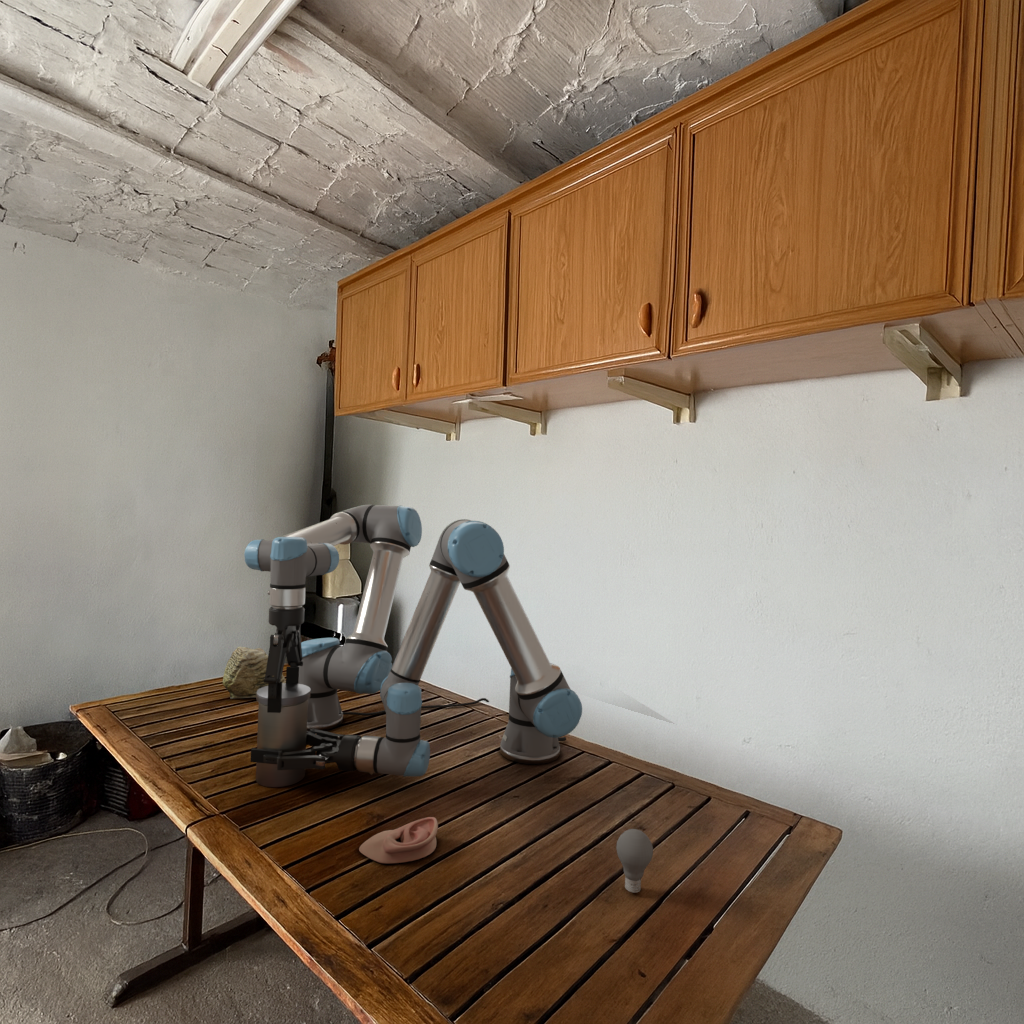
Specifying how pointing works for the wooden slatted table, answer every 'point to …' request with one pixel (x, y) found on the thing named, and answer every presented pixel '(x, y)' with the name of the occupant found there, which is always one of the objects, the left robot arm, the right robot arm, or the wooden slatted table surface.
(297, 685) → the lid
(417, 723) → the right robot arm
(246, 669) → the fossil
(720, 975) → the wooden slatted table surface
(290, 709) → the jar
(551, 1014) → the wooden slatted table surface
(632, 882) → the light bulb
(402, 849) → the anatomical model
